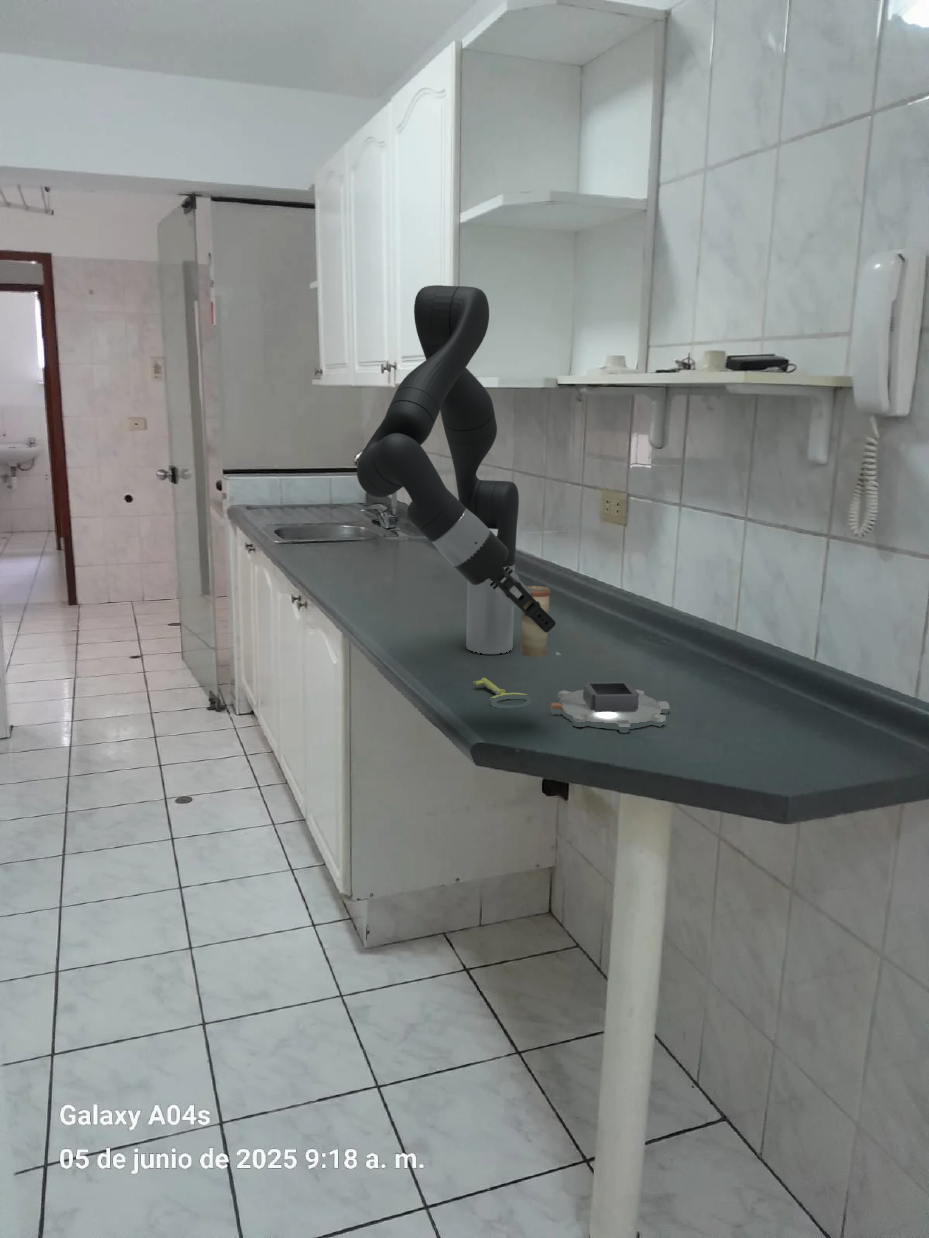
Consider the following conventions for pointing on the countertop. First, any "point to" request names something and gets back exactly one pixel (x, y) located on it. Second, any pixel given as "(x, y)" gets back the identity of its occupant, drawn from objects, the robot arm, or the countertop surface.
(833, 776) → the countertop surface
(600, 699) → the sprocket plate
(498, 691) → the key
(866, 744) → the countertop surface
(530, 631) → the pin
